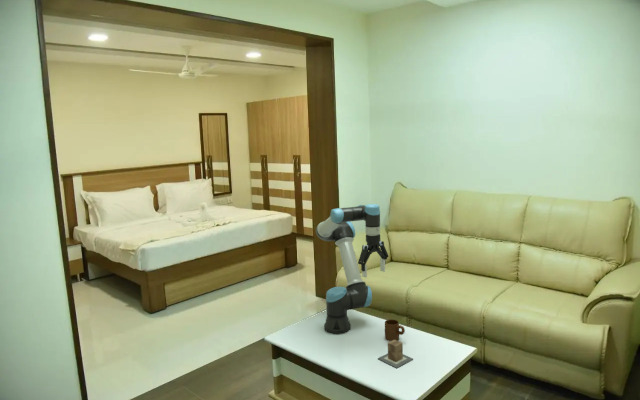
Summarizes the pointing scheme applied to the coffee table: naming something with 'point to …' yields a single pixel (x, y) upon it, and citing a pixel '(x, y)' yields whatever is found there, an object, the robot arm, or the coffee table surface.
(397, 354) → the walnut block
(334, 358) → the coffee table surface
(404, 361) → the mat
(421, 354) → the coffee table surface
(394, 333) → the mug
